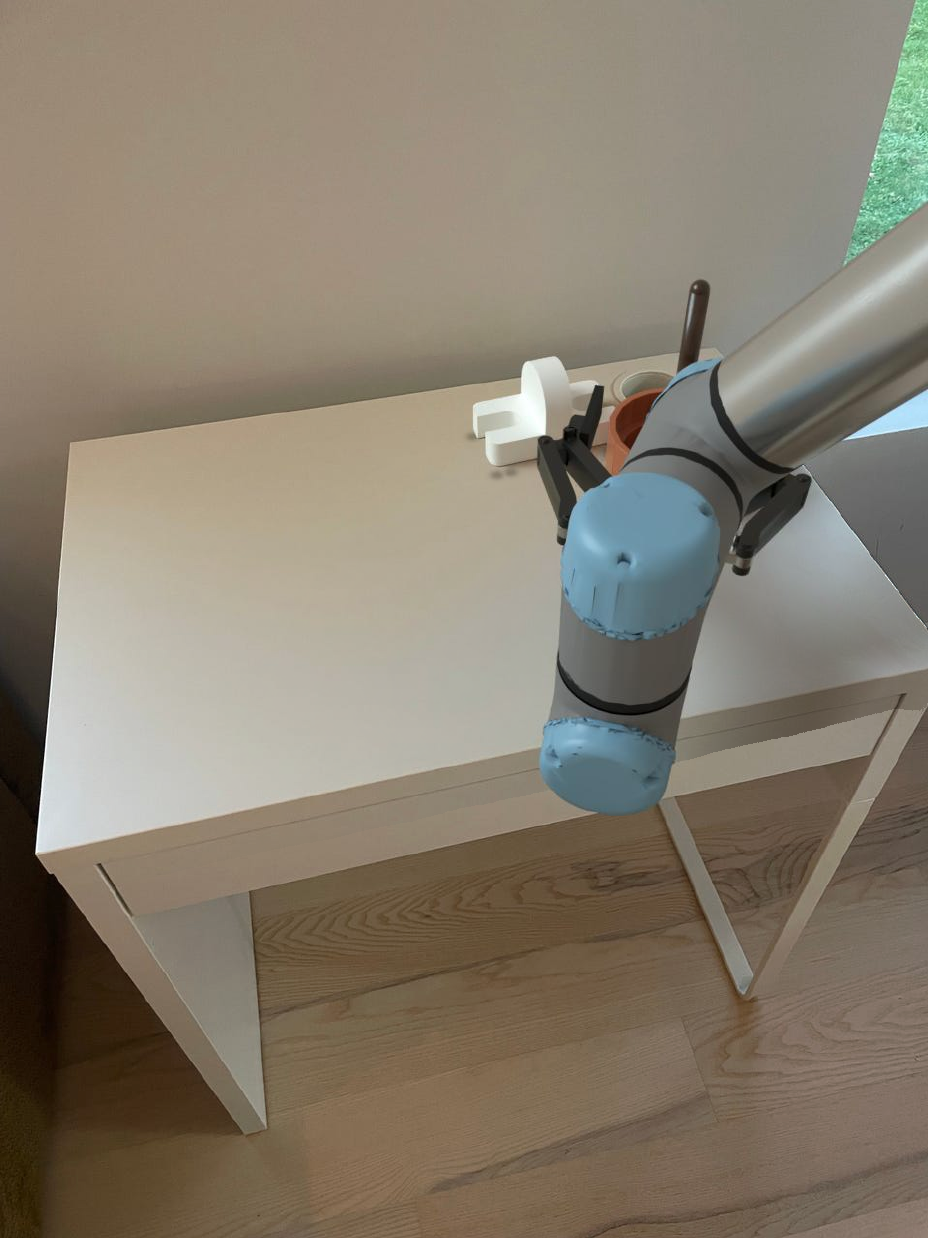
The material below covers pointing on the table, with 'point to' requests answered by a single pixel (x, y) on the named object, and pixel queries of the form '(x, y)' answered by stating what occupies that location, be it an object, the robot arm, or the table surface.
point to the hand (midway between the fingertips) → (682, 410)
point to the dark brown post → (694, 323)
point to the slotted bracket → (534, 412)
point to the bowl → (627, 427)
